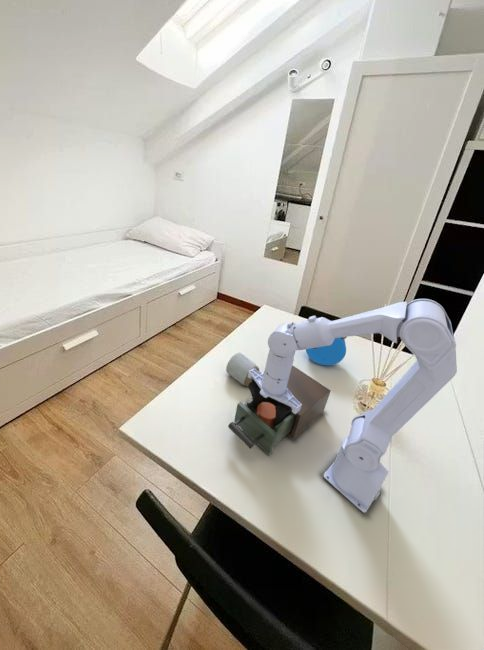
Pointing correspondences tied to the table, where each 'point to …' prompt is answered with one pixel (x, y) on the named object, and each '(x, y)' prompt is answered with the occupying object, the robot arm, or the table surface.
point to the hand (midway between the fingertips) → (266, 414)
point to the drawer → (260, 426)
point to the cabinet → (306, 399)
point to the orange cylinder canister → (267, 413)
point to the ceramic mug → (240, 368)
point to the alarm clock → (328, 352)
